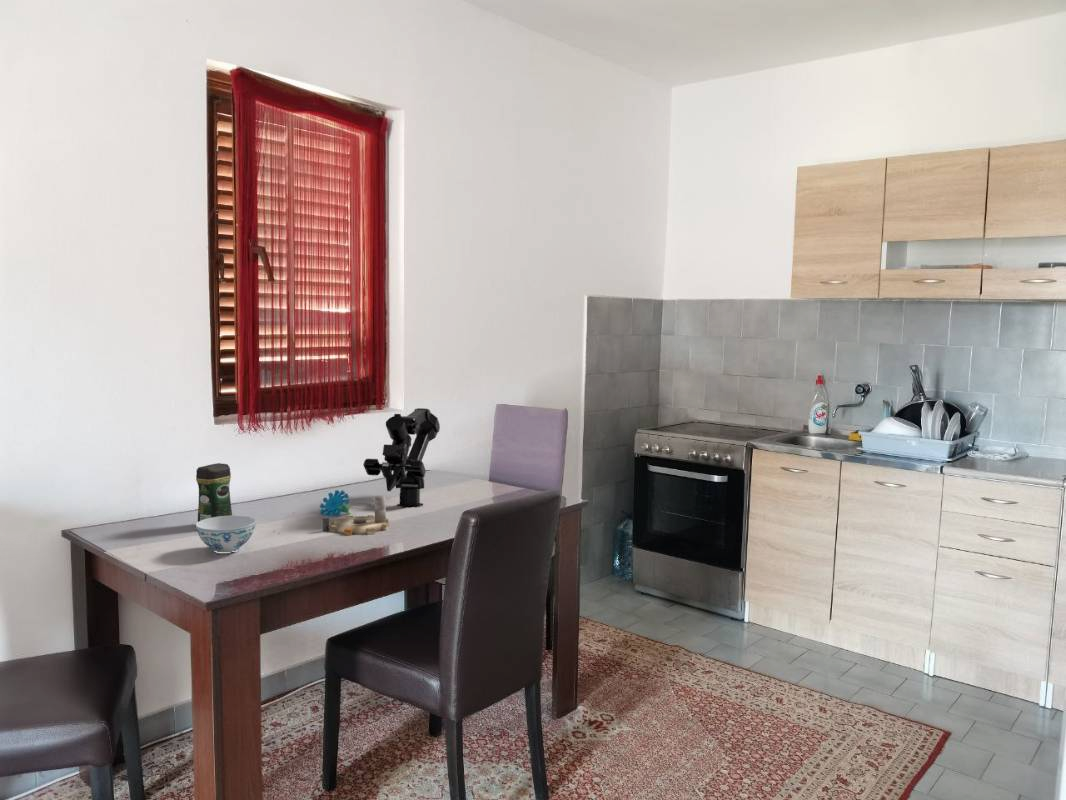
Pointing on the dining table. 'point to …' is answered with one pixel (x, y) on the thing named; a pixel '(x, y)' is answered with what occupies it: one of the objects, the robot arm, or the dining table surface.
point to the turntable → (363, 521)
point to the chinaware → (226, 532)
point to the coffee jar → (214, 491)
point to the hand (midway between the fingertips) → (388, 490)
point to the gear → (335, 504)
